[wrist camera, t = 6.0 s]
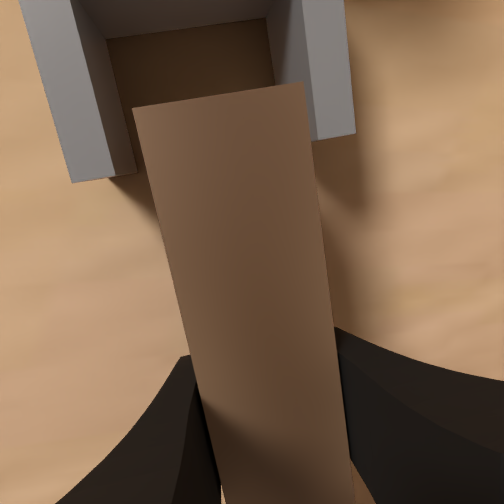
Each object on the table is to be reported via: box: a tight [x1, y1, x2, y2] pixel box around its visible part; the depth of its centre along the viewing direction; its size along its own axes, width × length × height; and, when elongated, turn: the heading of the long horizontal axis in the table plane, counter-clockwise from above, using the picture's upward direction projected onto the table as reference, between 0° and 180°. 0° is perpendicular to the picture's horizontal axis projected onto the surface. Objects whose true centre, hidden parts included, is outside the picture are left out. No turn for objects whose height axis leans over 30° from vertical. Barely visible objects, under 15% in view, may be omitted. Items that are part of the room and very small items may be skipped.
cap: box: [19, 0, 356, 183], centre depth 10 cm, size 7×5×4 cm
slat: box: [132, 81, 356, 504], centre depth 10 cm, size 3×14×5 cm, turn 10°
